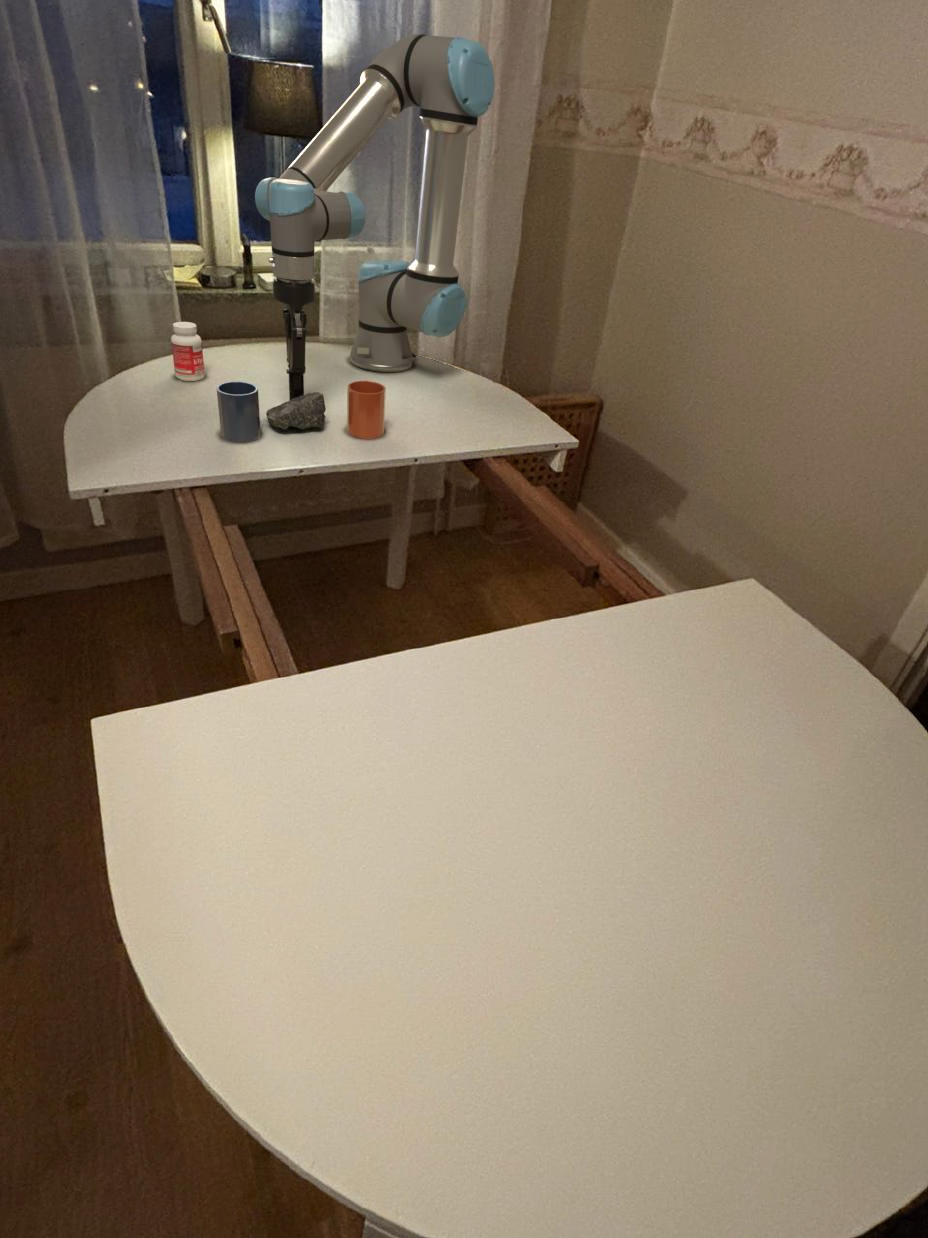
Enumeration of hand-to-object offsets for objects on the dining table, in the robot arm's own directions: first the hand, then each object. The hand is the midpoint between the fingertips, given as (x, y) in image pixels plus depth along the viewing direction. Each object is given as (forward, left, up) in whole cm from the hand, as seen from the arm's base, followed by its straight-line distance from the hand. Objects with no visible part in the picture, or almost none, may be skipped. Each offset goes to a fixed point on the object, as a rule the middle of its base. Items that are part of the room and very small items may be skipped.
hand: (296, 403), depth 149 cm
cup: (+12, +9, -3) cm, 15 cm away
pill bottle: (+20, -23, -3) cm, 31 cm away
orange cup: (-12, +9, -3) cm, 15 cm away
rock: (+1, +5, -3) cm, 6 cm away
